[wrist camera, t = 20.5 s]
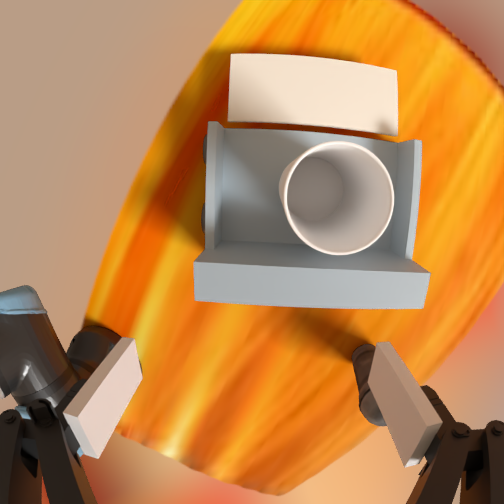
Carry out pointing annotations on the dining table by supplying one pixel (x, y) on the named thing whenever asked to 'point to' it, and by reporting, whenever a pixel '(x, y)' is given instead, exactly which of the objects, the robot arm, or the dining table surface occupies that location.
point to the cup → (337, 197)
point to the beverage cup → (366, 384)
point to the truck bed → (286, 240)
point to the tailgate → (313, 92)
